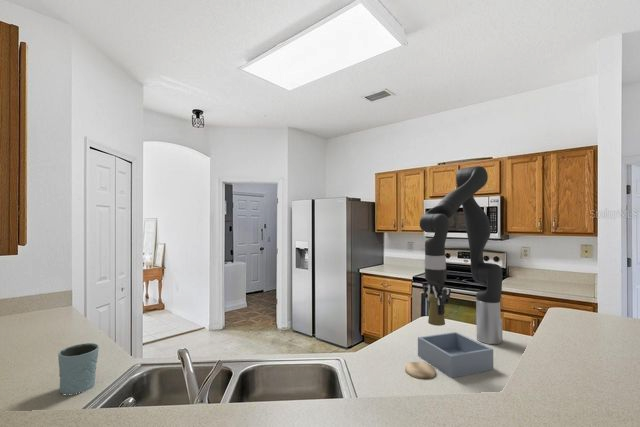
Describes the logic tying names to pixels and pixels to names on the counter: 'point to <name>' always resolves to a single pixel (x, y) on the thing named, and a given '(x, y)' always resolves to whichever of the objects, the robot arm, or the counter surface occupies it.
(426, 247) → the robot arm
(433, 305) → the pepper shaker
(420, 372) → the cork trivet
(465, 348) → the bin
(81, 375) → the blue-grey textured cup
